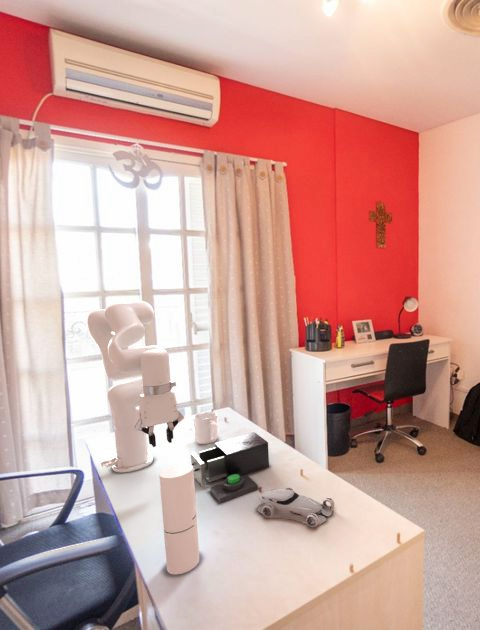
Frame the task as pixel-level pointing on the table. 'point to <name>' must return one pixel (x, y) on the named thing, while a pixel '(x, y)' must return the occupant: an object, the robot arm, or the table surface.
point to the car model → (294, 507)
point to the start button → (233, 479)
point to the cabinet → (245, 454)
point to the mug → (206, 427)
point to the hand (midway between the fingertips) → (161, 442)
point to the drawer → (209, 465)
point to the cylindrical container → (179, 518)
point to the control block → (233, 488)
